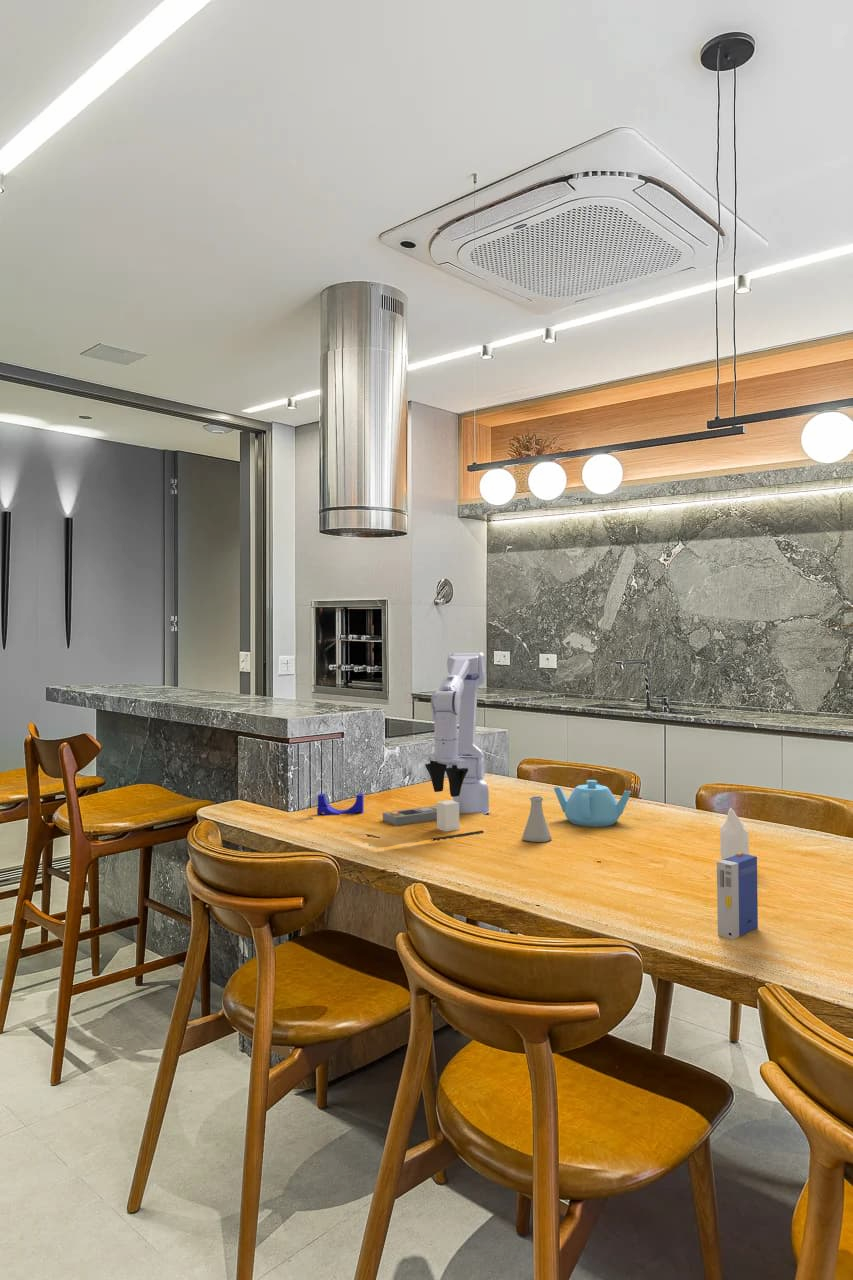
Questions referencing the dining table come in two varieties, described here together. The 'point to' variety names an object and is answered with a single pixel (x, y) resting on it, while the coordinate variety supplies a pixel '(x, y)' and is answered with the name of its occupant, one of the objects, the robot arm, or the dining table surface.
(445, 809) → the plug
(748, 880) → the walkman
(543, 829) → the flask
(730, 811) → the glue bottle
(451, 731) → the robot arm
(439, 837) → the rubber mat
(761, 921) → the dining table surface
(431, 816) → the power strip
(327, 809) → the blue arch block
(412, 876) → the dining table surface
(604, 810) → the teapot
